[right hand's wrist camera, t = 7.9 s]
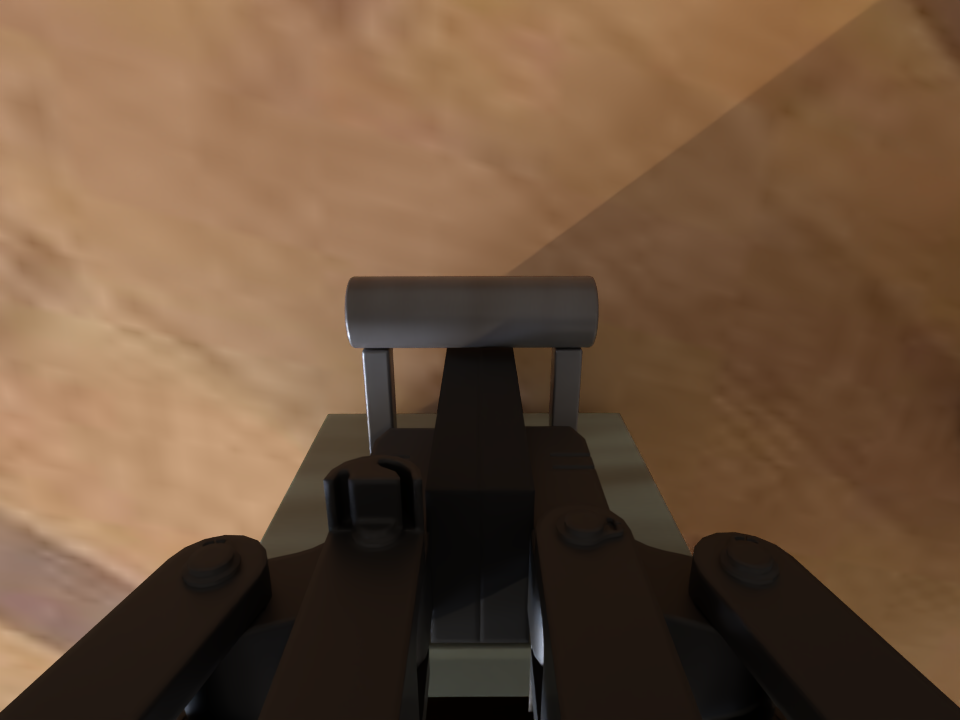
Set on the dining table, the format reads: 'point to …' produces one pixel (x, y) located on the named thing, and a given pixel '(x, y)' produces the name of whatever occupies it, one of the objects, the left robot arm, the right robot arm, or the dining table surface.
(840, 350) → the dining table surface
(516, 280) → the drawer
